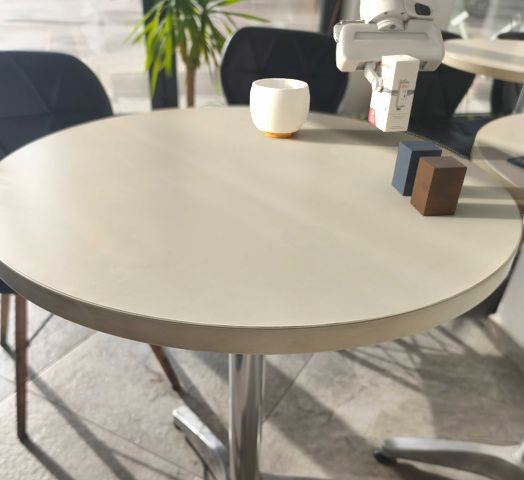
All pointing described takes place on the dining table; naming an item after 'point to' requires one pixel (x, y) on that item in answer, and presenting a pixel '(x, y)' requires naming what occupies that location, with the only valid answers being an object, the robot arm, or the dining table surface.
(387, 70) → the ink box
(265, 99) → the cup
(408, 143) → the slate block
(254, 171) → the dining table surface
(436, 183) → the walnut block
